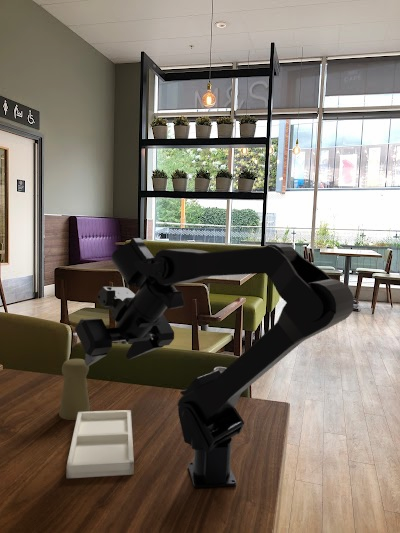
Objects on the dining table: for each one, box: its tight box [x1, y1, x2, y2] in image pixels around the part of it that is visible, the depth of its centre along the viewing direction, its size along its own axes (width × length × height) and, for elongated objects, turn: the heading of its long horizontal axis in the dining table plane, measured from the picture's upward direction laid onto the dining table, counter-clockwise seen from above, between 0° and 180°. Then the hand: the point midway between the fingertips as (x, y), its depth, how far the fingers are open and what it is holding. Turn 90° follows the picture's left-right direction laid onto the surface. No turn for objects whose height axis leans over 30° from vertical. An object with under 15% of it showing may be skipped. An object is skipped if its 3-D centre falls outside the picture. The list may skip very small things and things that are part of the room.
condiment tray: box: [66, 409, 135, 479], centre depth 77 cm, size 19×10×2 cm, turn 10°
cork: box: [58, 358, 91, 421], centre depth 89 cm, size 6×6×11 cm
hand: (107, 360), depth 84 cm, fingers open, 9 cm apart
